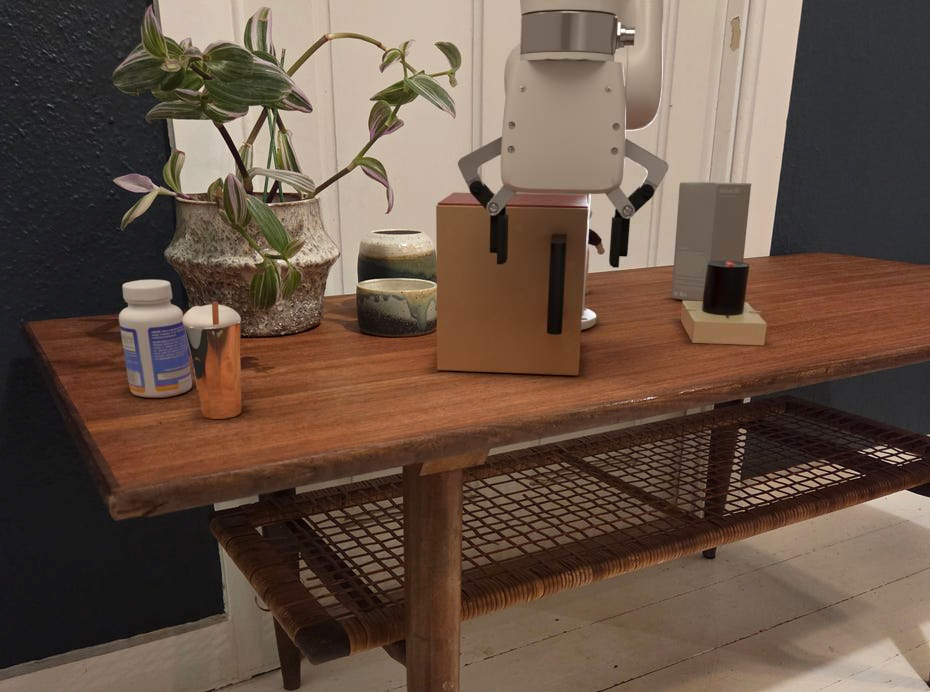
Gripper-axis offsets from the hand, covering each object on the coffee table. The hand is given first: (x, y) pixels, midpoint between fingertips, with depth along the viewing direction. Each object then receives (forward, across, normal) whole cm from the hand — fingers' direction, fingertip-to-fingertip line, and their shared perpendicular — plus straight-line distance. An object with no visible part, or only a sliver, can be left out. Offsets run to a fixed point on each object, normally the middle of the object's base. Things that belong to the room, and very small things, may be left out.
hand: (557, 263), depth 76 cm
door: (+12, +4, -4) cm, 13 cm away
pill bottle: (+12, +36, +3) cm, 38 cm away
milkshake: (+12, +28, +9) cm, 31 cm away
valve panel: (+11, -20, -29) cm, 37 cm away
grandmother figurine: (+11, -2, -52) cm, 53 cm away
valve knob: (+9, -20, -29) cm, 36 cm away
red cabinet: (+12, +4, -14) cm, 19 cm away
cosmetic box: (+11, -20, -50) cm, 55 cm away
